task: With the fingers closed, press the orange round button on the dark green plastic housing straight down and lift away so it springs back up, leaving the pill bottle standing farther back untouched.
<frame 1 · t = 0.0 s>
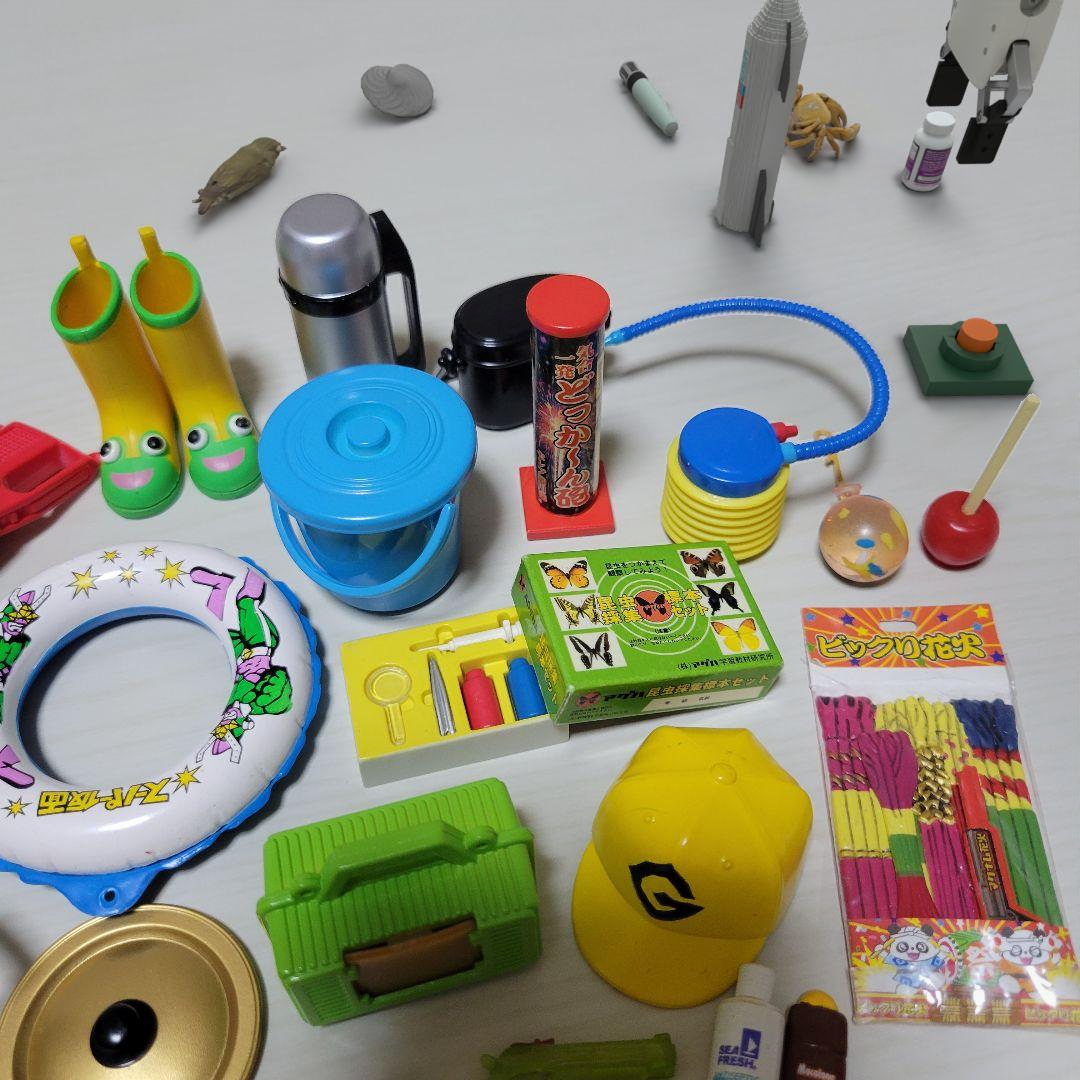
hand: (957, 132, 86), 32 cm above the table, tool pointing down, fingers open, 9 cm apart
flashlight: (651, 109, 150), on the table
decorative bird model: (244, 190, 137), on the table
pill bottle: (919, 183, 137), on the table
press button: (977, 336, 110), point 5 cm above the table, slide at 0.1 cm
button box: (963, 365, 113), on the table
seashell: (400, 106, 151), on the table
crab model: (812, 137, 145), on the table
rocket model: (741, 218, 132), on the table
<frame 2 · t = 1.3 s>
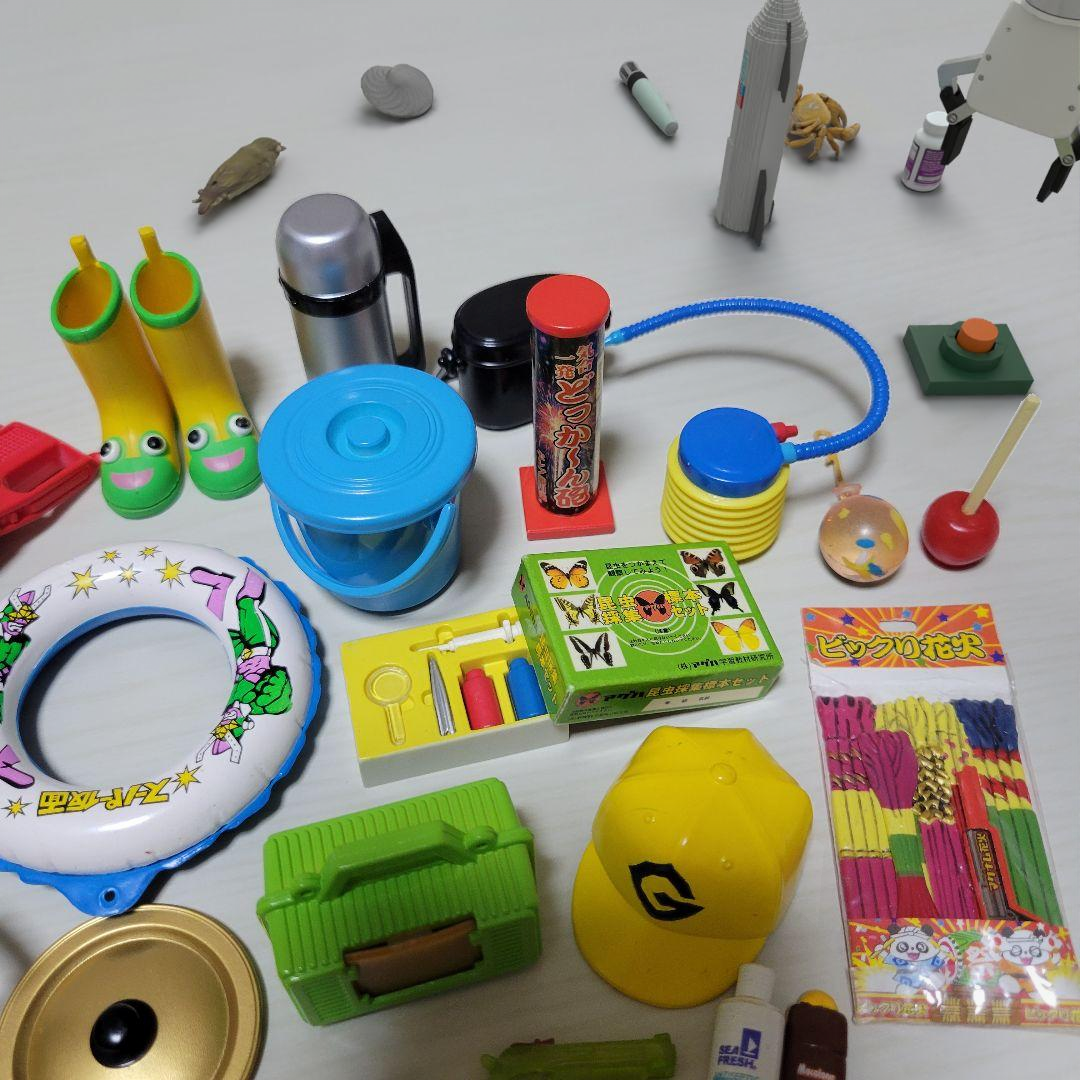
hand: (996, 177, 92), 26 cm above the table, tool pointing down, fingers open, 9 cm apart
nothing on the table moved.
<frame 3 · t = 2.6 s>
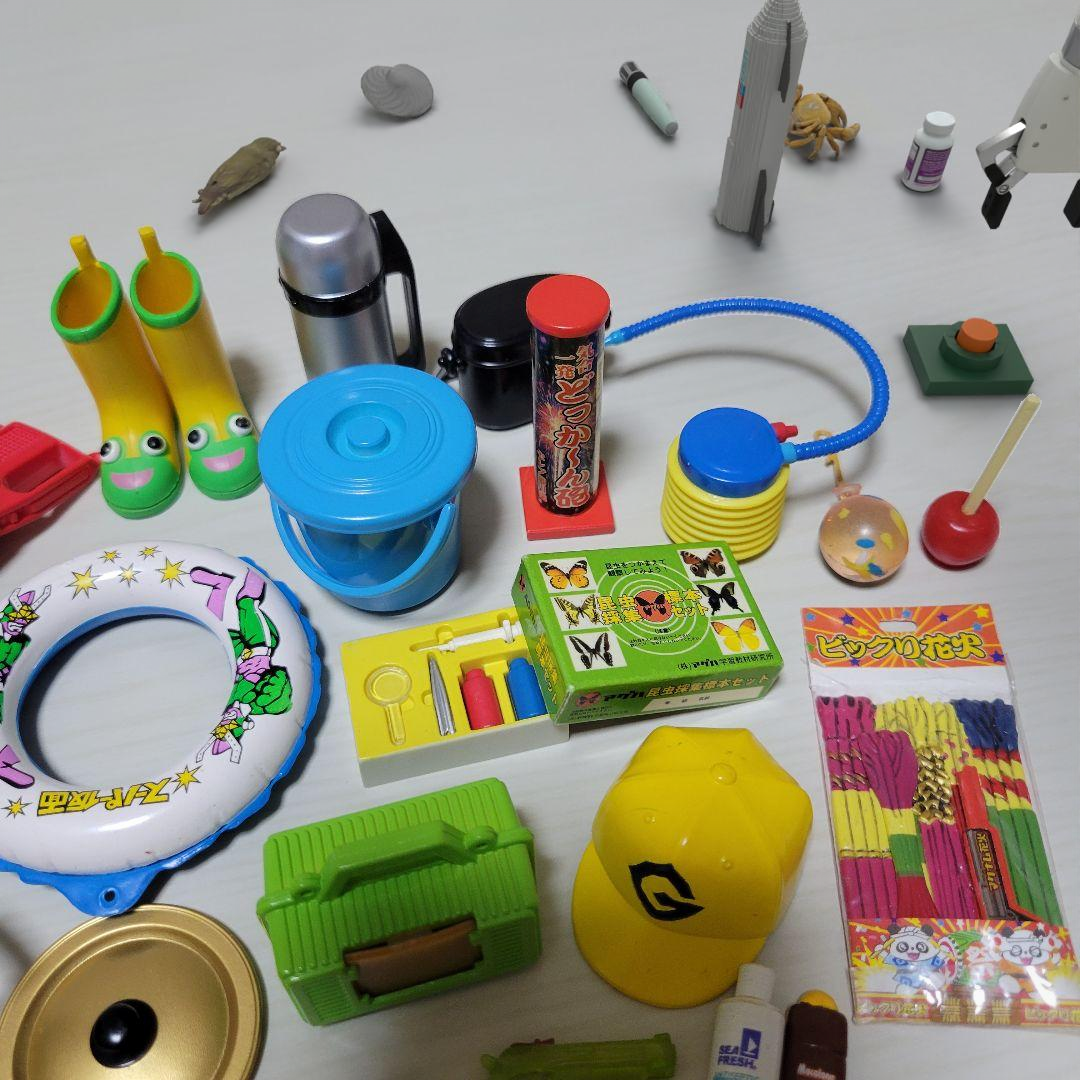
hand: (1030, 220, 98), 20 cm above the table, tool pointing down, fingers open, 7 cm apart
nothing on the table moved.
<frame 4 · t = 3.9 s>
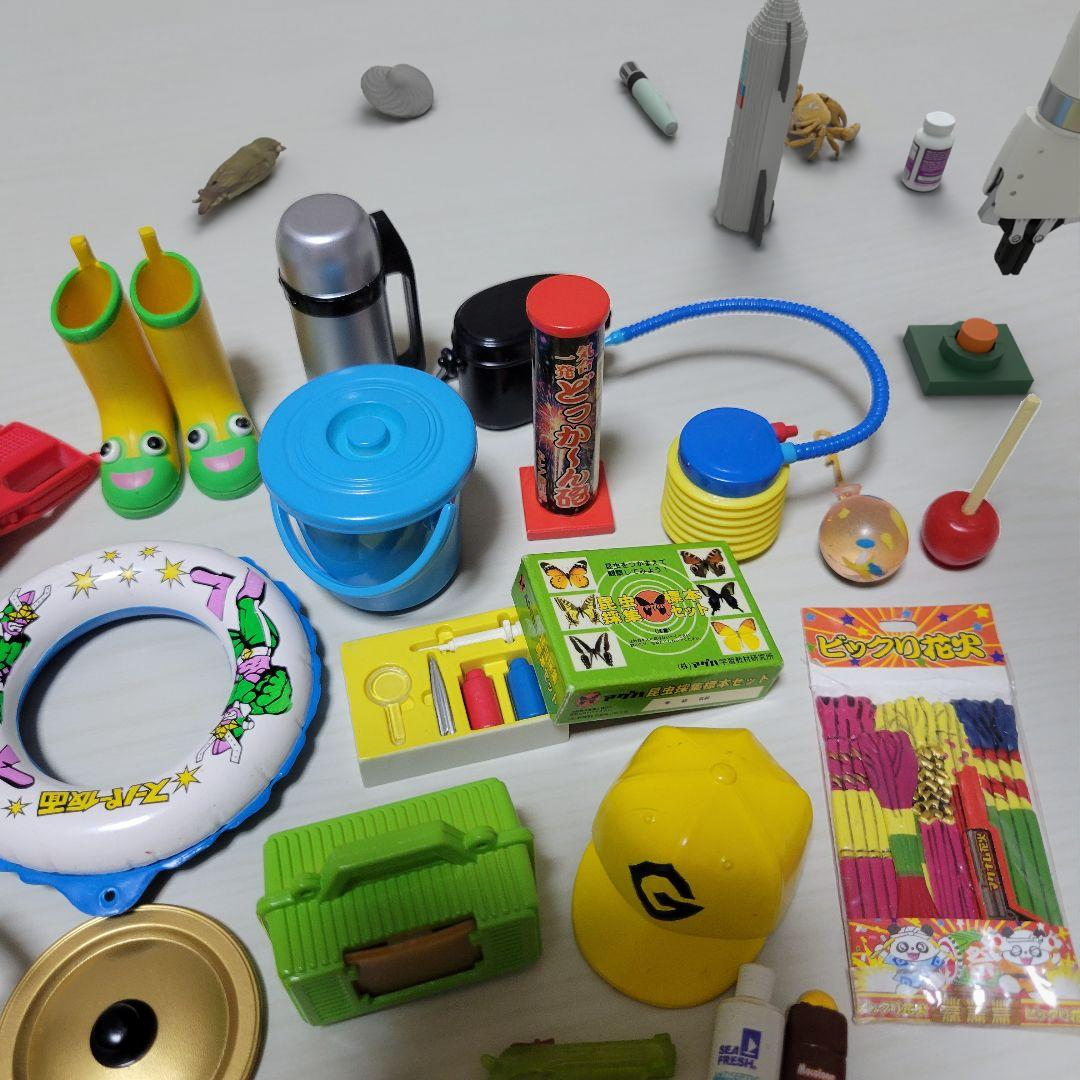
hand: (1006, 267, 102), 14 cm above the table, tool pointing down, fingers closed
nothing on the table moved.
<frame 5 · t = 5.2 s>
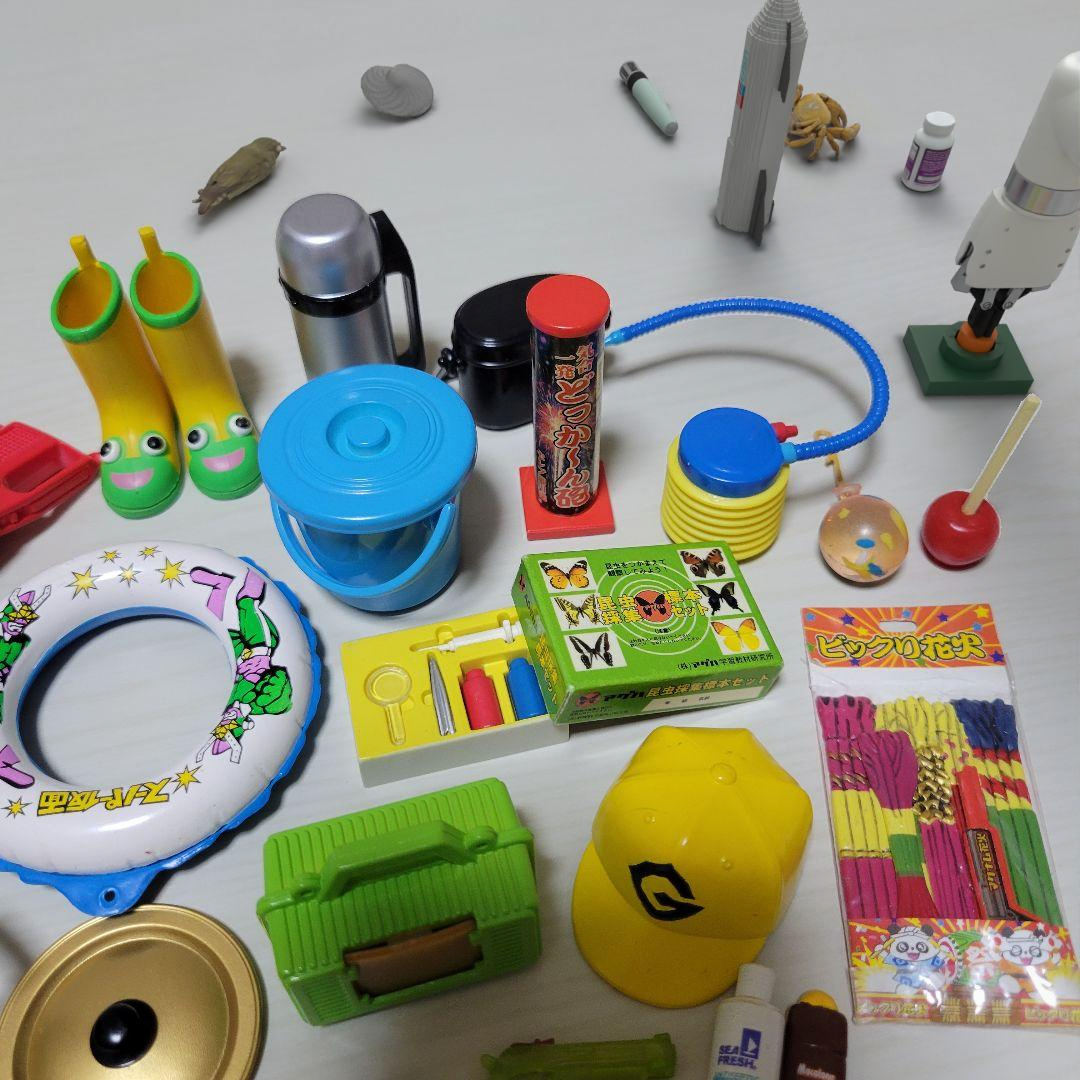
hand: (978, 329, 109), 5 cm above the table, tool pointing down, fingers closed
press button: (976, 337, 110), point 4 cm above the table, slide at -0.1 cm, touching gripper
everything else where it was.
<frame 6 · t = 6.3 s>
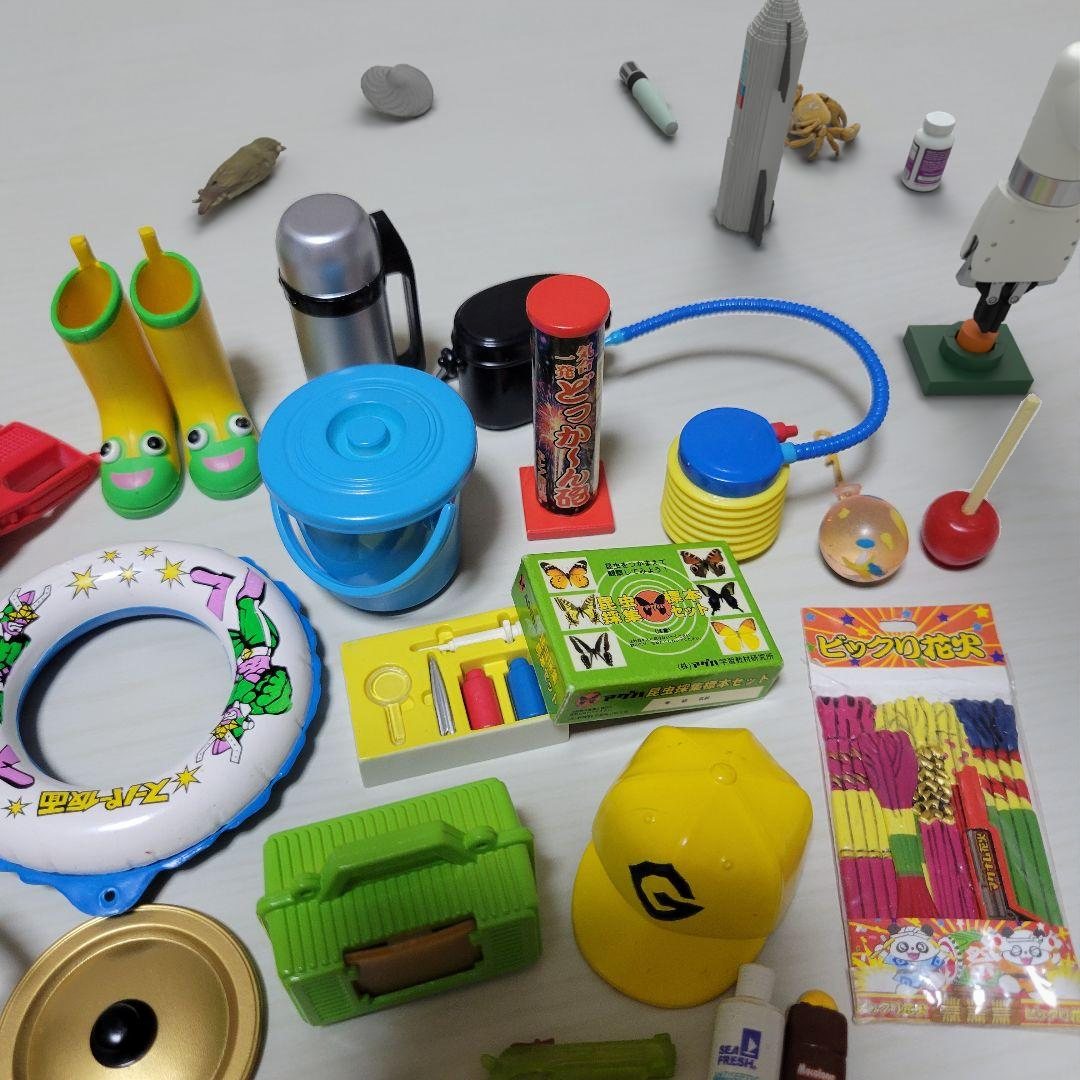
hand: (984, 325, 108), 6 cm above the table, tool pointing down, fingers closed
press button: (977, 336, 110), point 5 cm above the table, slide at 0.1 cm
everything else where it was.
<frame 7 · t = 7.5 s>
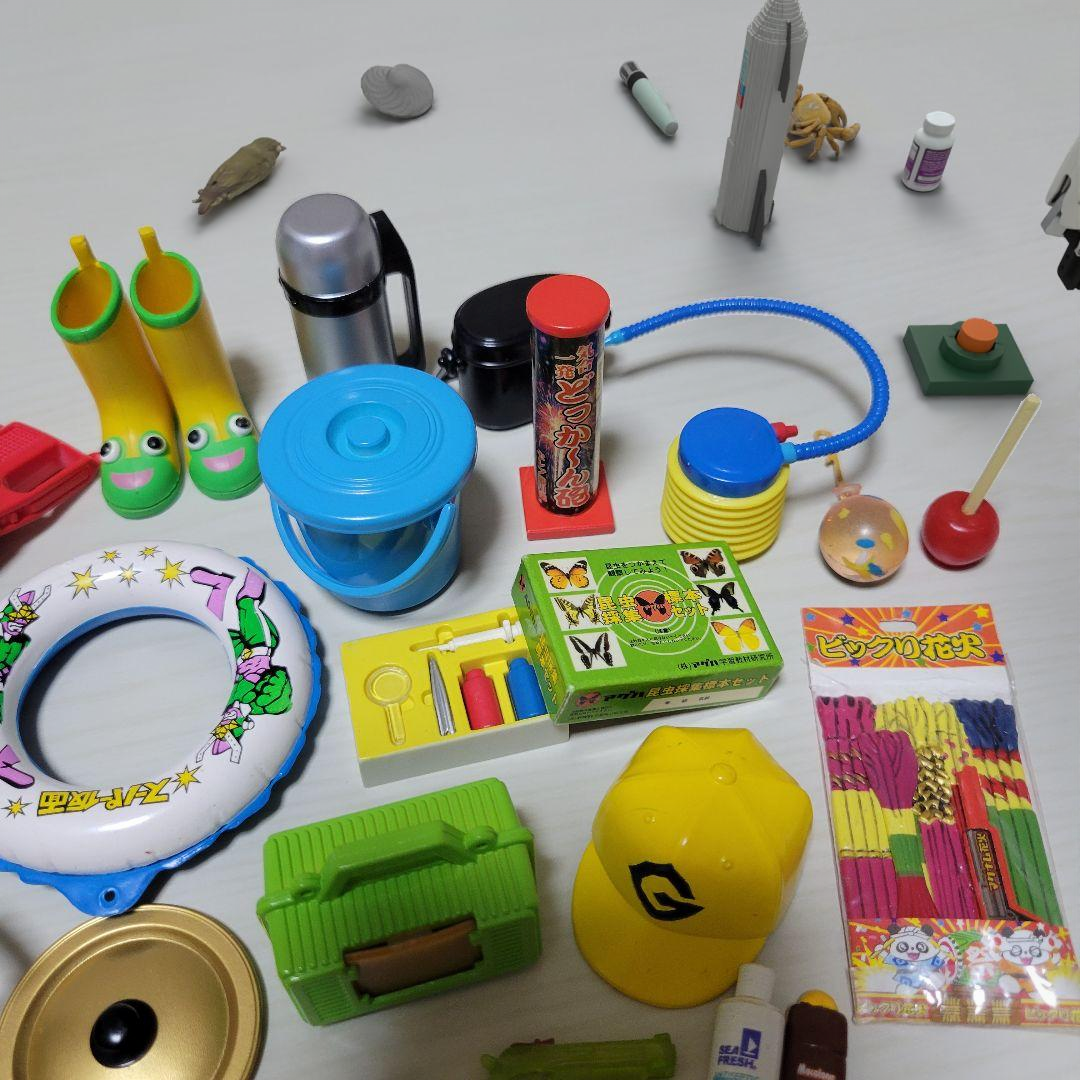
hand: (1070, 281, 96), 17 cm above the table, tool pointing down, fingers closed
nothing on the table moved.
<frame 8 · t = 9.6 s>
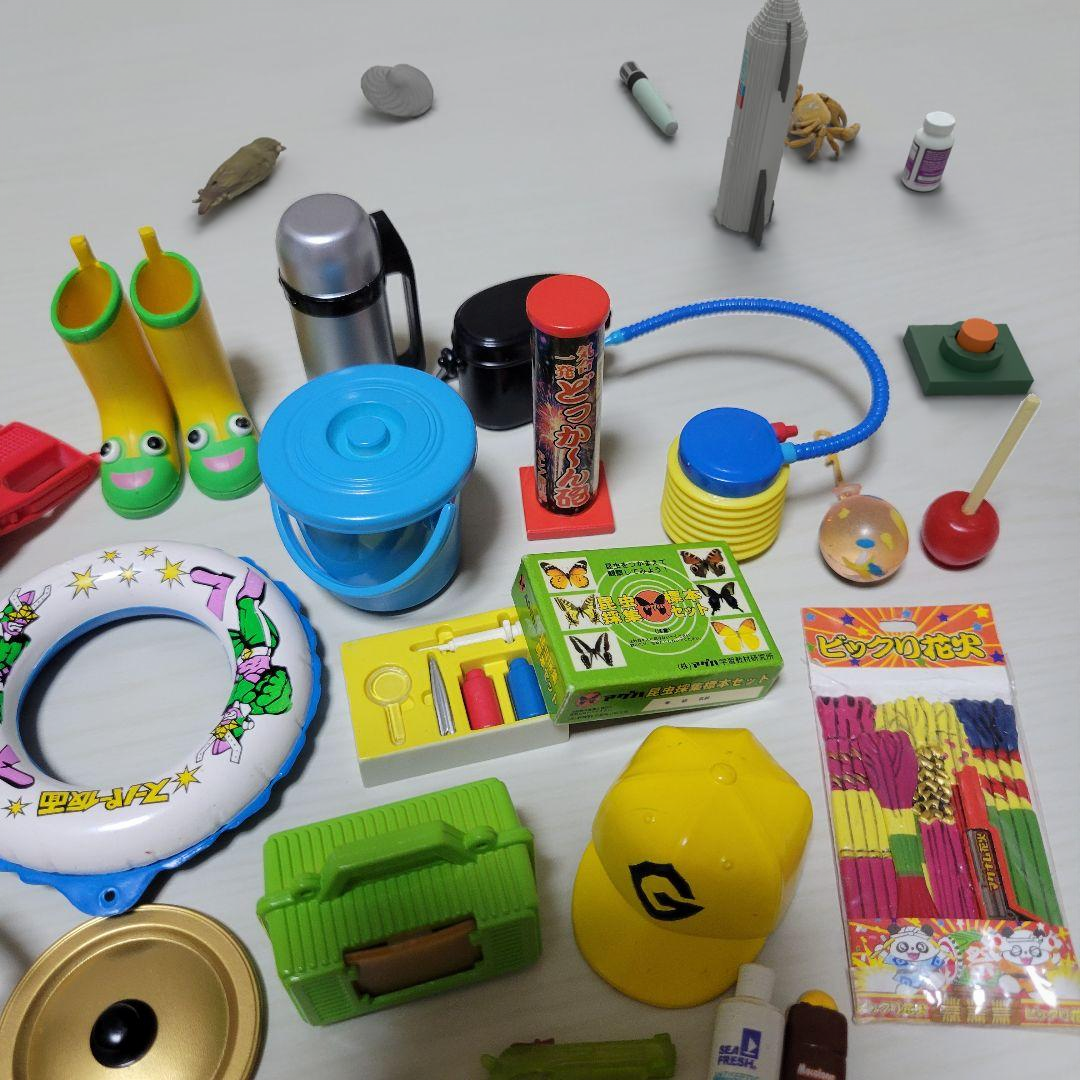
nothing on the table moved.
at the end: press button pushed in 1.1 cm at the most during the clip, back to where it started at the end; press button slide at 0.1 cm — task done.
